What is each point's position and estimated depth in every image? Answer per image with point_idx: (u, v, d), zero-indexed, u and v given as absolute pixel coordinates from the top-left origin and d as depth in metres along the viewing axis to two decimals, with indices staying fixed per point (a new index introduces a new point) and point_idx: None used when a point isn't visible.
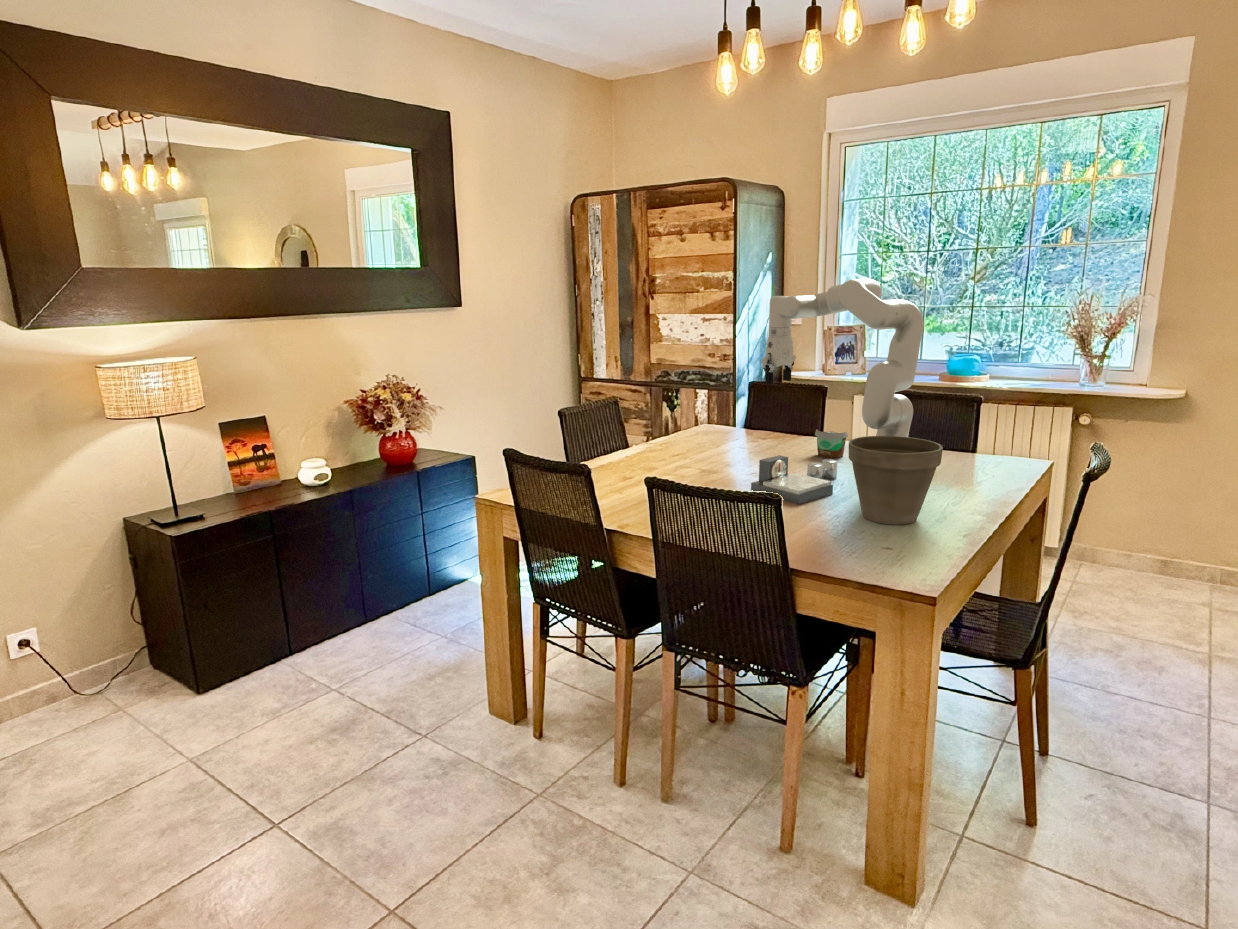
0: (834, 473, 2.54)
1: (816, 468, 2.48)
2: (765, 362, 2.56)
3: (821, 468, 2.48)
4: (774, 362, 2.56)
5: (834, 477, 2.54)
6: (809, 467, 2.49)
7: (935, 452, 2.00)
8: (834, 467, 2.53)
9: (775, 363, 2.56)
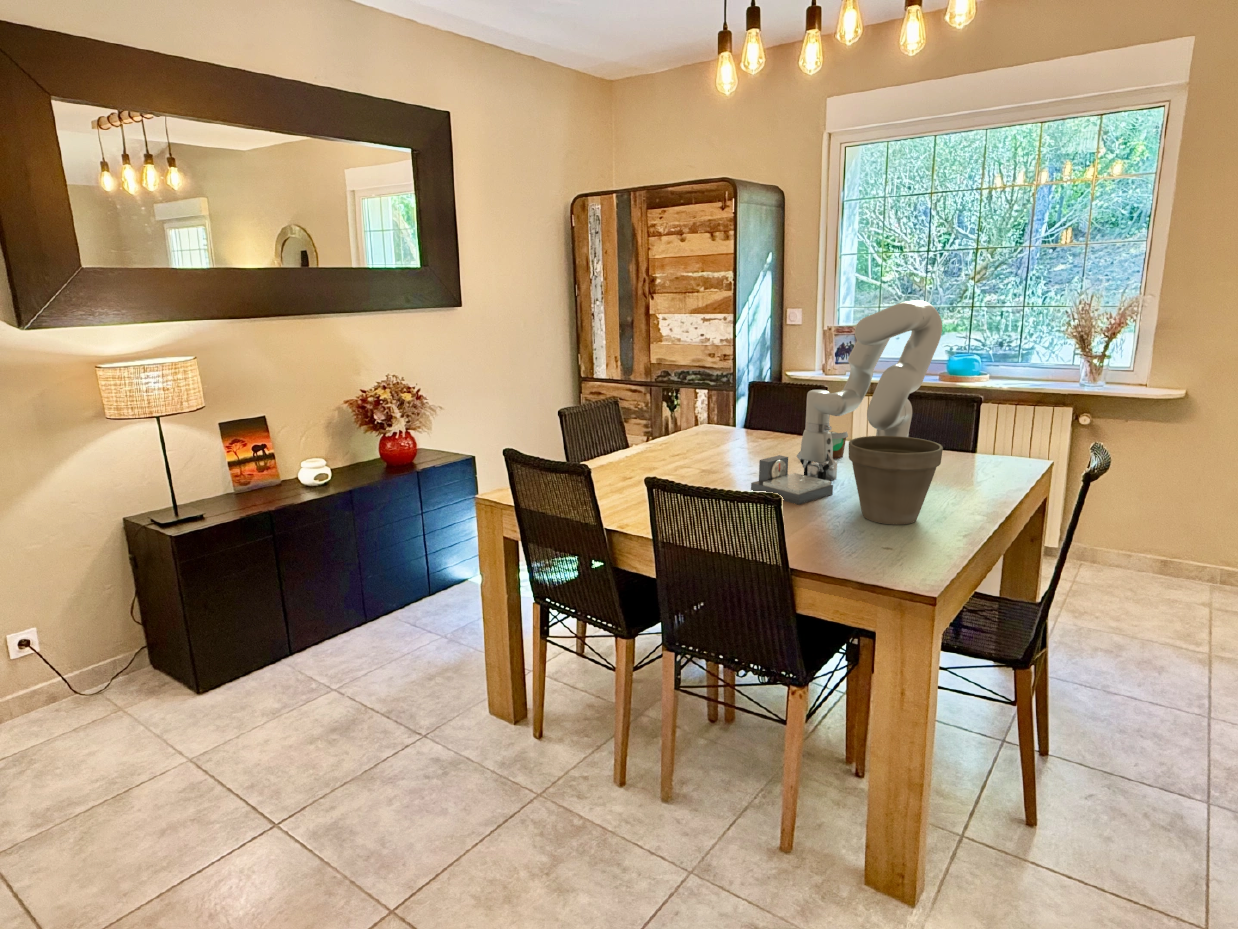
0: (834, 473, 2.54)
1: (816, 468, 2.48)
2: None
3: None
4: None
5: (834, 477, 2.54)
6: (809, 467, 2.49)
7: (935, 452, 2.00)
8: (834, 467, 2.53)
9: None
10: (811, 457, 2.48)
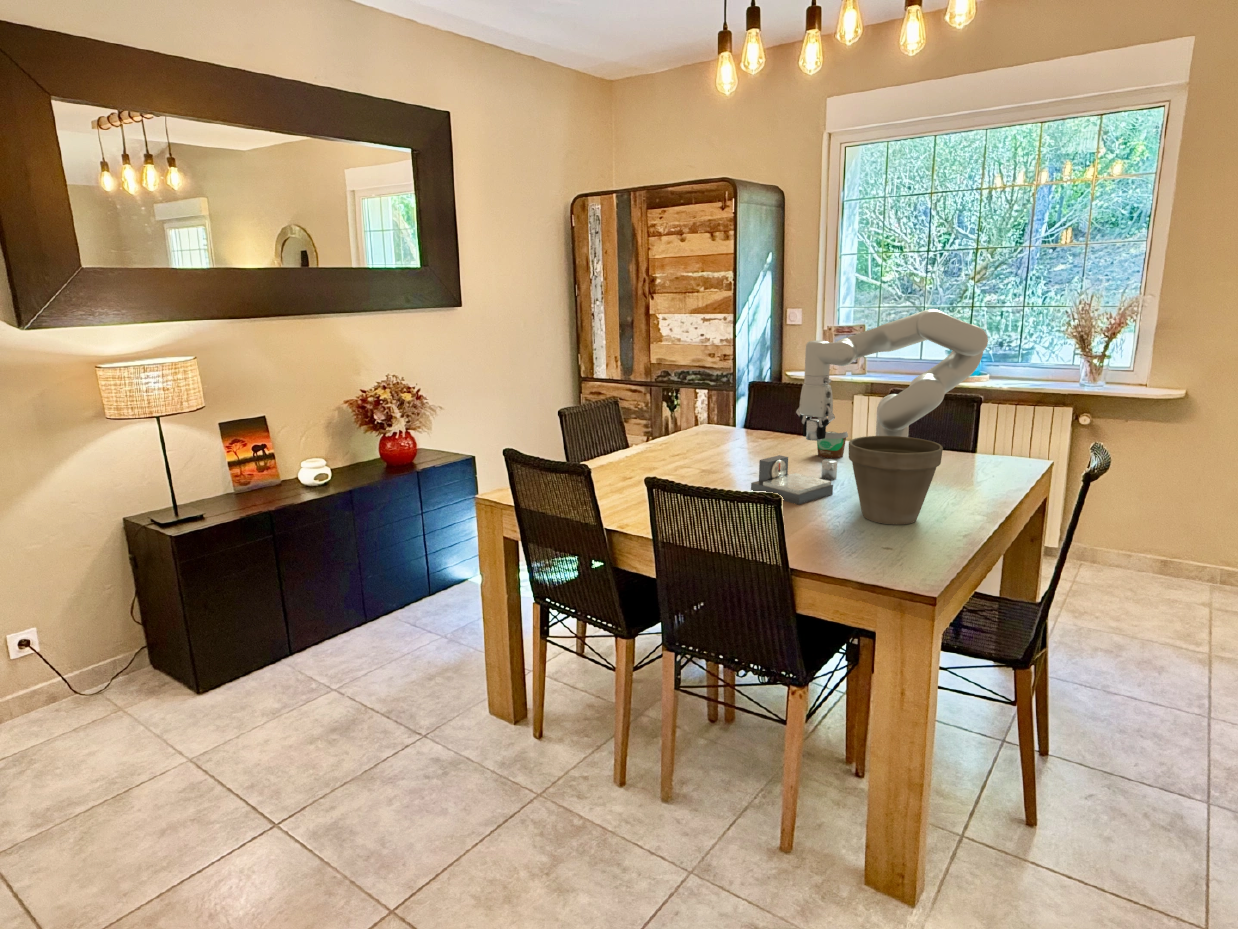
0: (834, 473, 2.54)
1: (815, 423, 2.36)
2: None
3: None
4: None
5: (834, 477, 2.54)
6: (808, 422, 2.37)
7: (935, 452, 2.00)
8: (834, 467, 2.53)
9: None
10: (810, 412, 2.36)
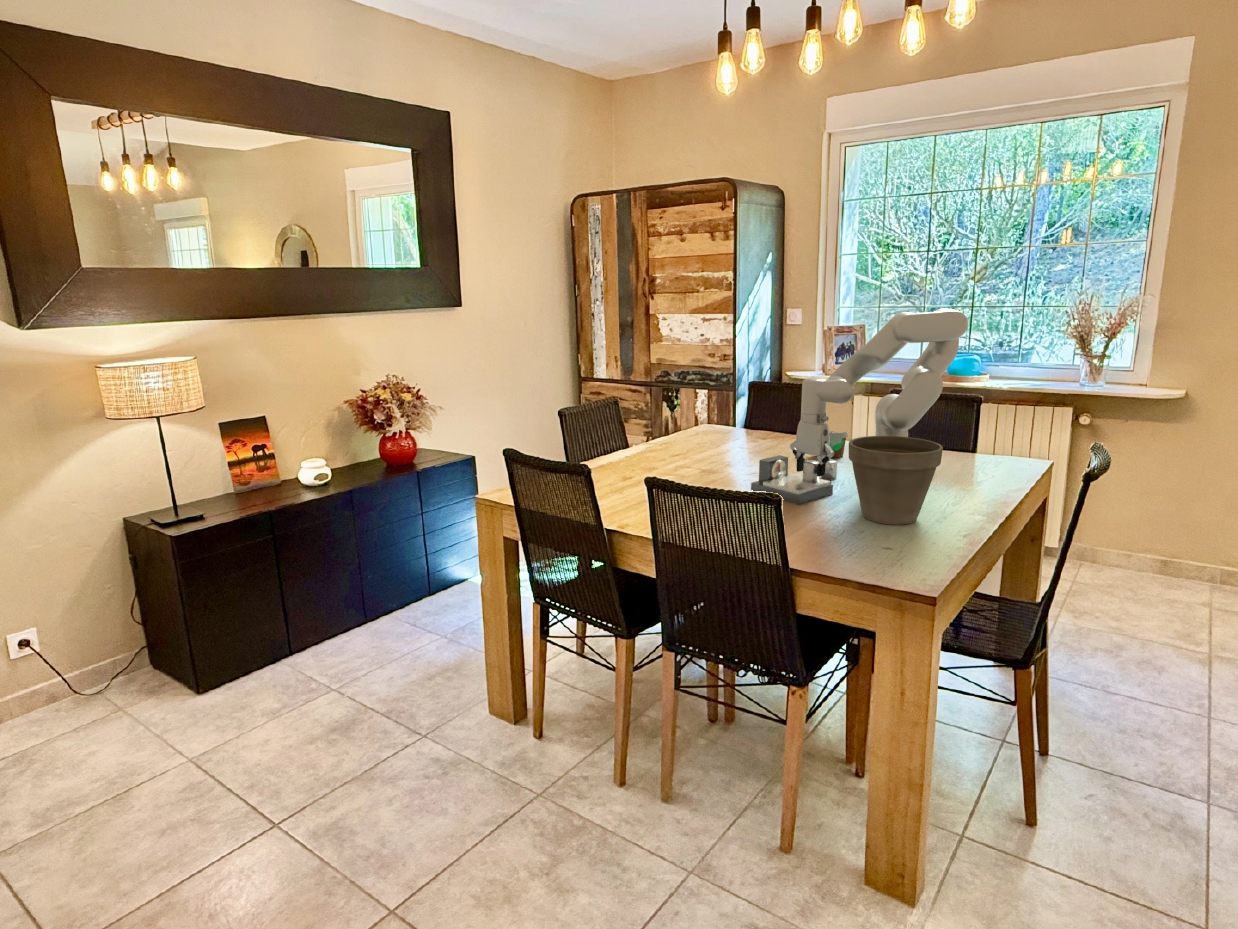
0: (834, 473, 2.54)
1: (812, 465, 2.34)
2: None
3: None
4: None
5: (834, 477, 2.54)
6: (805, 464, 2.35)
7: (935, 452, 2.00)
8: (834, 467, 2.53)
9: None
10: (807, 449, 2.34)
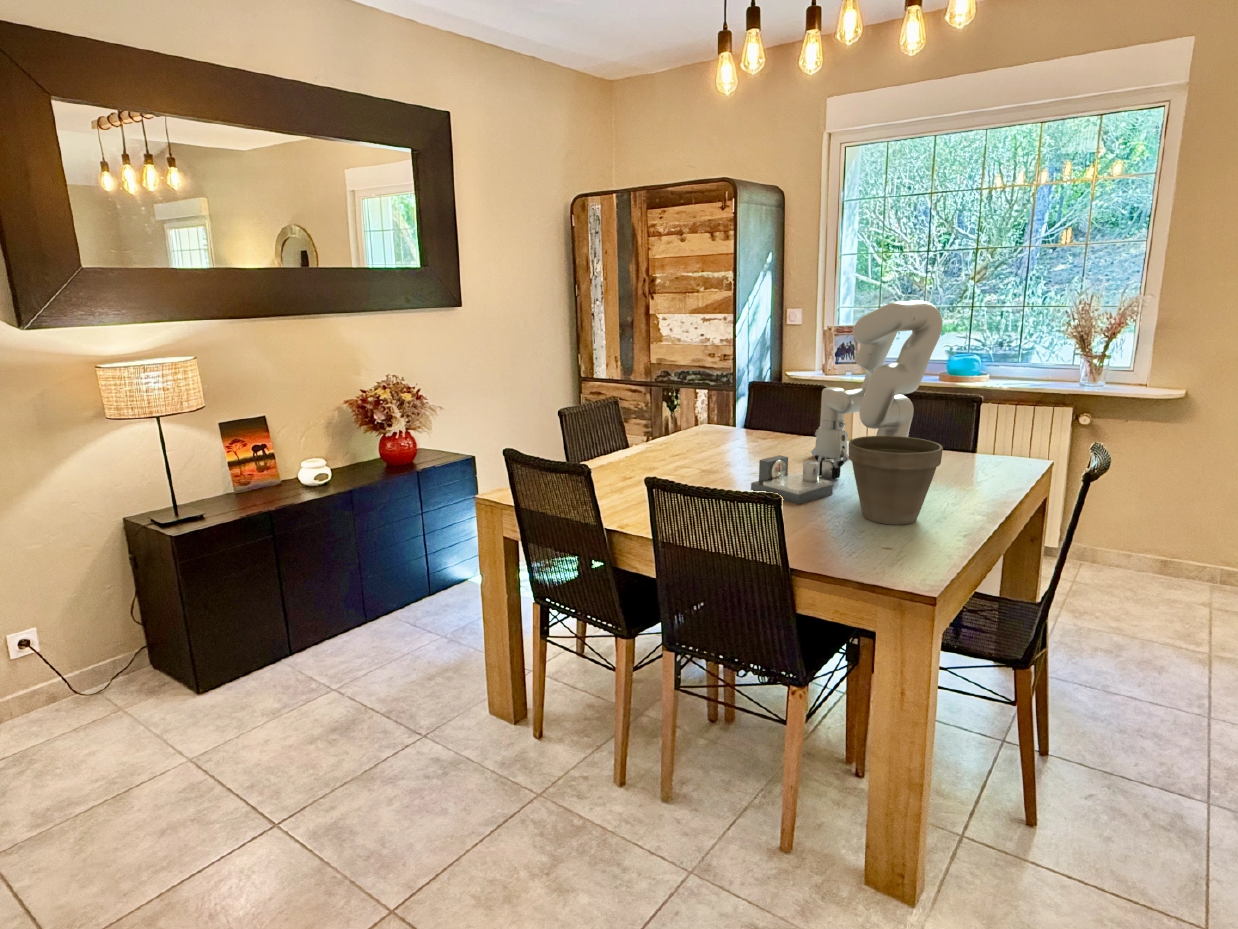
0: None
1: (812, 465, 2.34)
2: None
3: (818, 466, 2.35)
4: None
5: None
6: (805, 464, 2.35)
7: (935, 452, 2.00)
8: None
9: None
10: (826, 453, 2.53)
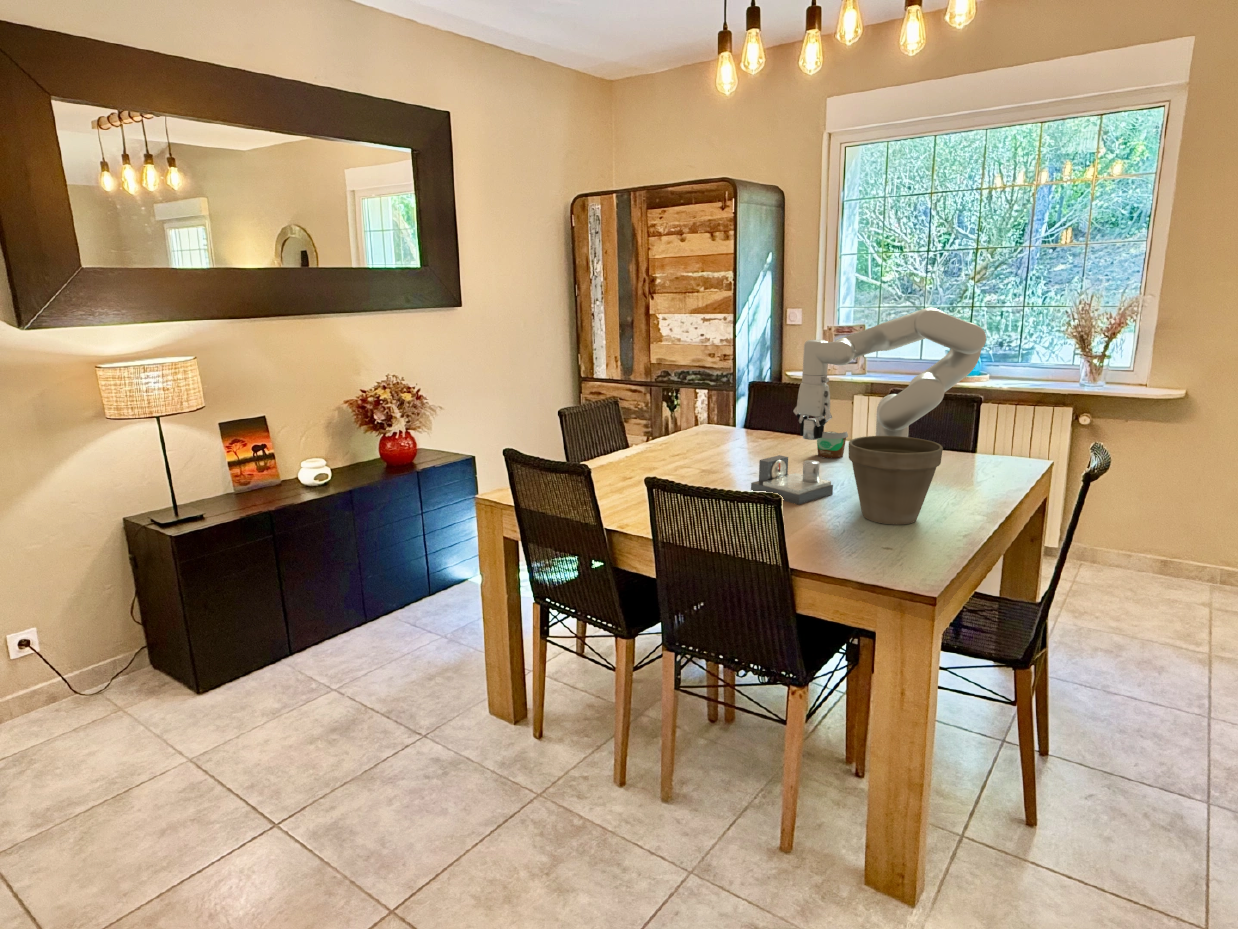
0: None
1: (812, 465, 2.34)
2: None
3: (818, 466, 2.35)
4: None
5: None
6: (805, 464, 2.35)
7: (935, 452, 2.00)
8: None
9: None
10: (807, 411, 2.36)
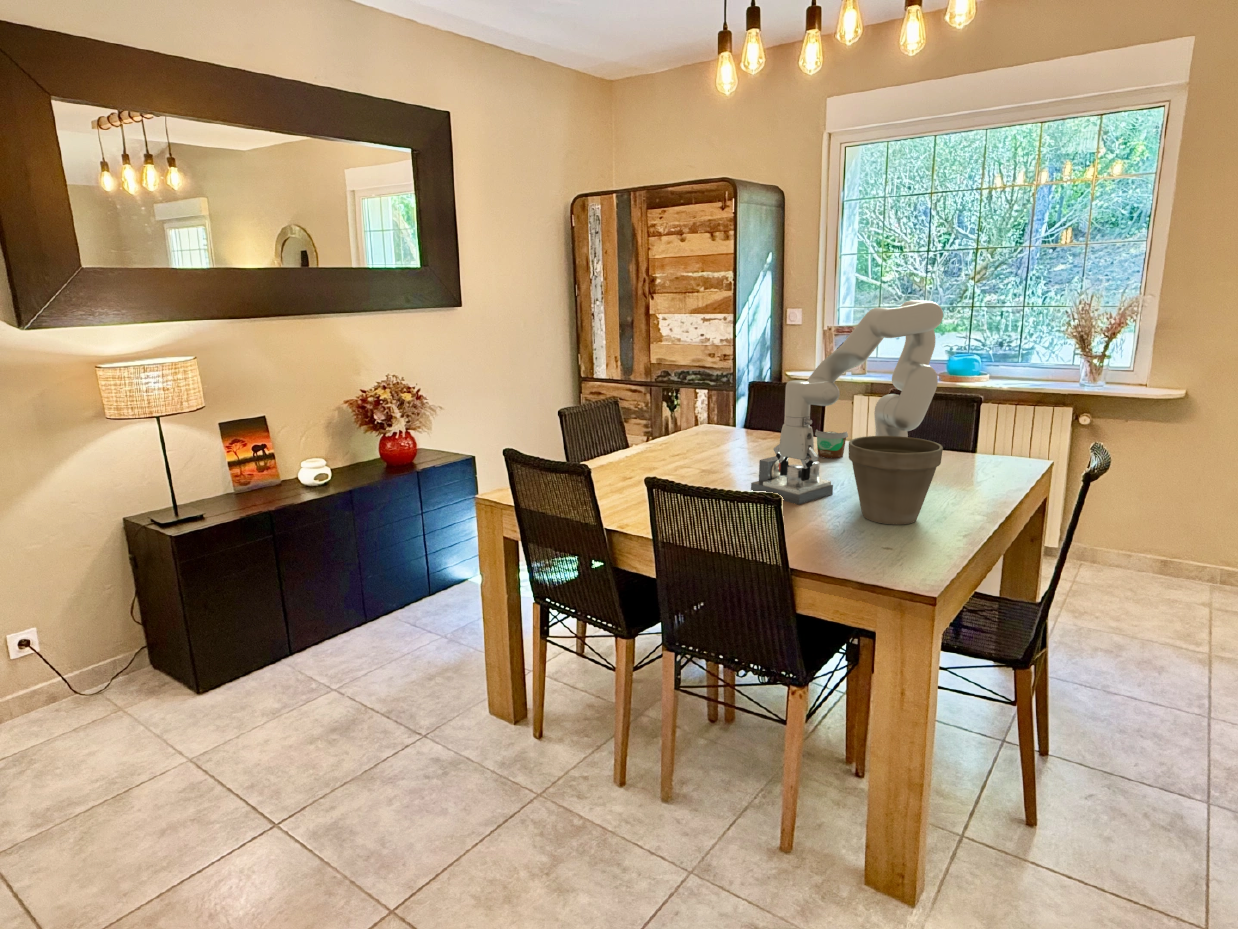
0: (800, 480, 2.30)
1: (812, 465, 2.34)
2: None
3: (818, 466, 2.35)
4: None
5: (800, 484, 2.31)
6: None
7: (935, 452, 2.00)
8: (800, 473, 2.30)
9: None
10: (790, 453, 2.29)
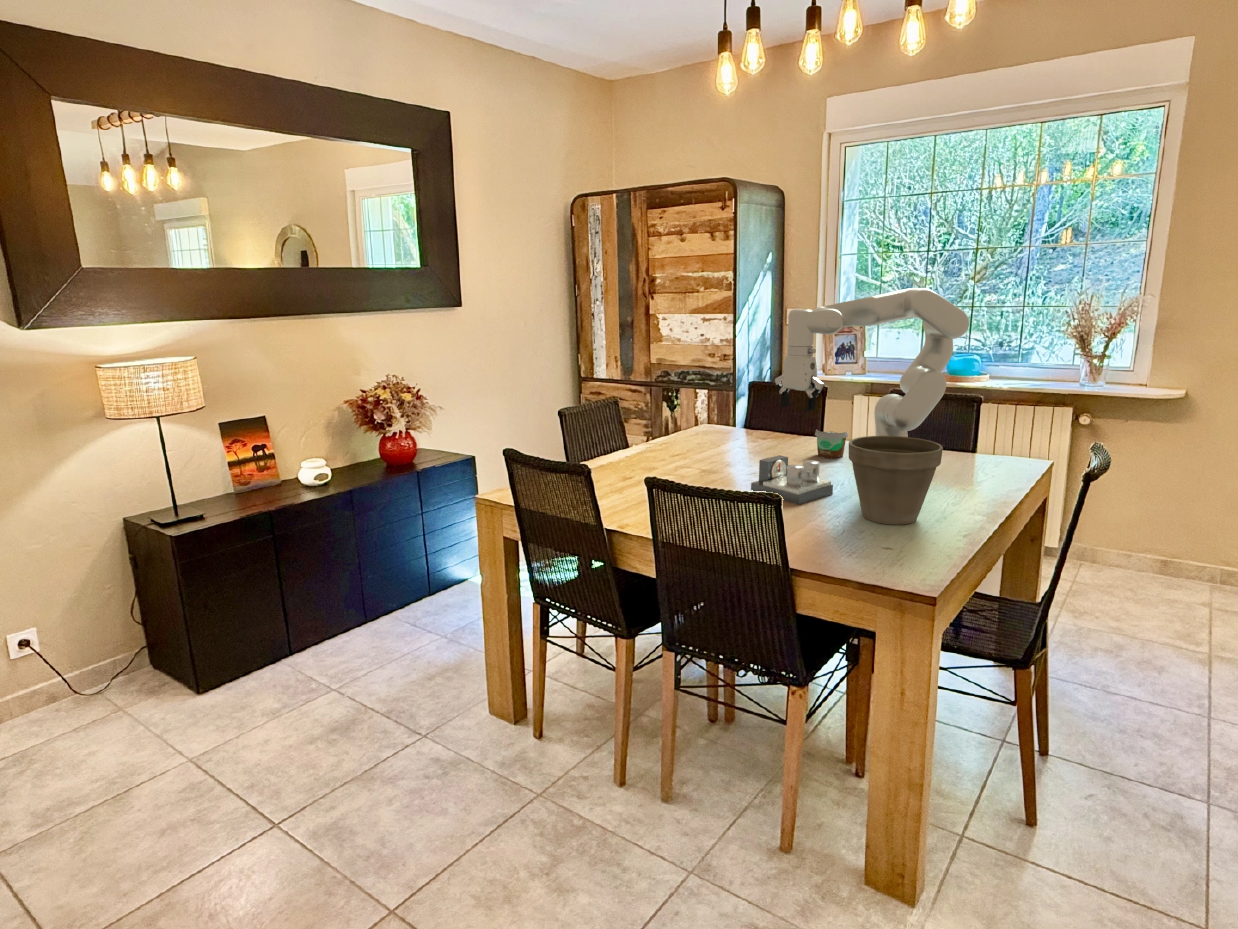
0: (800, 480, 2.30)
1: (812, 465, 2.34)
2: None
3: (818, 466, 2.35)
4: (816, 385, 2.23)
5: (800, 484, 2.31)
6: (805, 464, 2.35)
7: (935, 452, 2.00)
8: (800, 473, 2.30)
9: (816, 386, 2.23)
10: (793, 385, 2.24)
